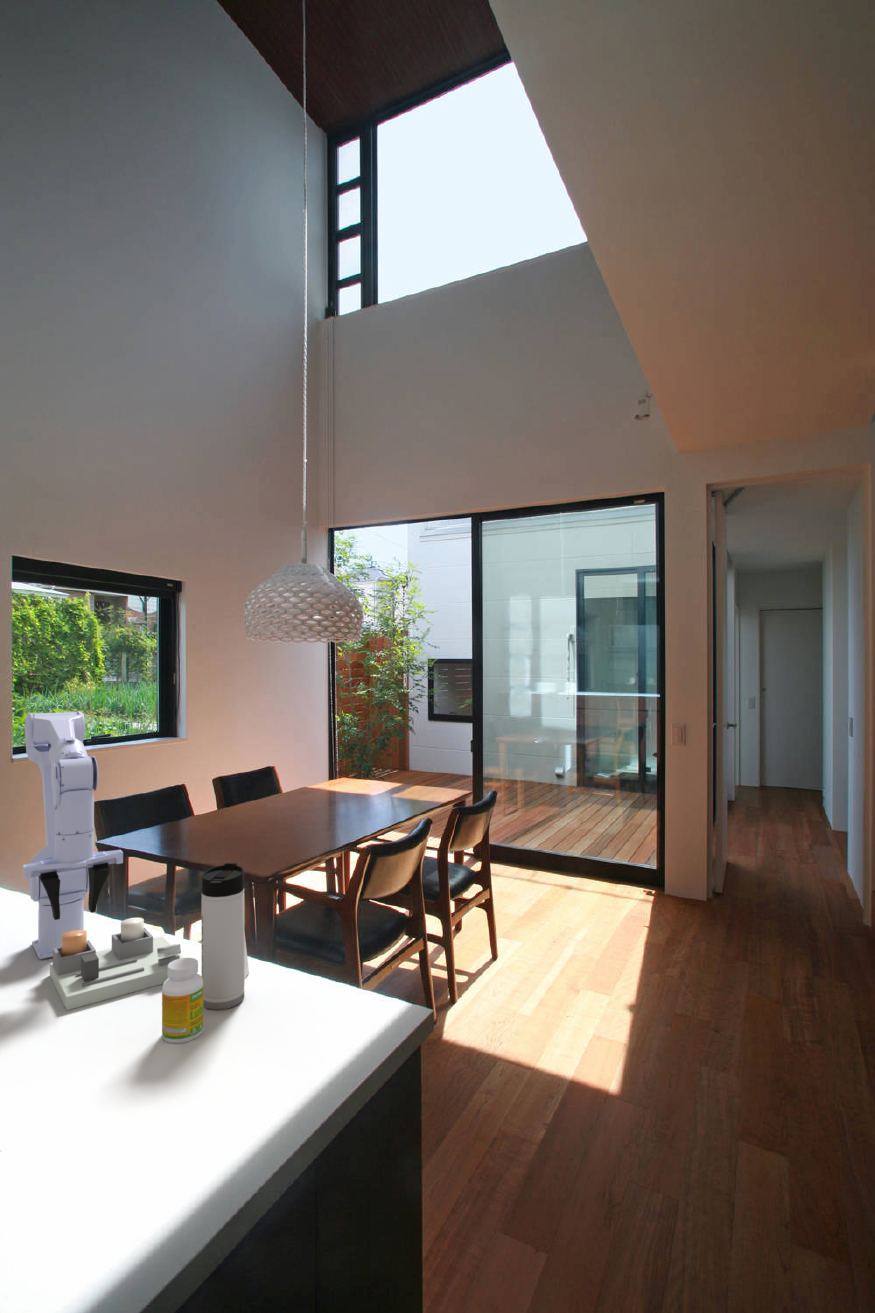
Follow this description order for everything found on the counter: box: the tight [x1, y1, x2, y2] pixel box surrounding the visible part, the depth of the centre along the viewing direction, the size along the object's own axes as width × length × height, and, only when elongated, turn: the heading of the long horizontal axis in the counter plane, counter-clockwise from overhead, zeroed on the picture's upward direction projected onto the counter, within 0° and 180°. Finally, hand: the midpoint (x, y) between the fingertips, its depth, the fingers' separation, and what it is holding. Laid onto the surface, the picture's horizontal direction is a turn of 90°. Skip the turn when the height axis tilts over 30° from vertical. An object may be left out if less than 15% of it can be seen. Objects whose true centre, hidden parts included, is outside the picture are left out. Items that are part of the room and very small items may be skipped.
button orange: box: [62, 929, 88, 957], centre depth 112 cm, size 4×4×3 cm
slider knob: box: [81, 953, 99, 981], centre depth 107 cm, size 3×2×3 cm
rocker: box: [157, 943, 182, 957], centre depth 113 cm, size 4×3×1 cm, turn 38°
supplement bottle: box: [161, 957, 204, 1044], centre depth 94 cm, size 5×5×10 cm
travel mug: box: [200, 862, 245, 1011], centre depth 104 cm, size 6×7×20 cm
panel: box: [49, 927, 184, 1011], centre depth 113 cm, size 15×18×5 cm
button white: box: [120, 917, 145, 943], centre depth 118 cm, size 4×4×3 cm
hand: (74, 914), depth 112 cm, fingers open, 5 cm apart
